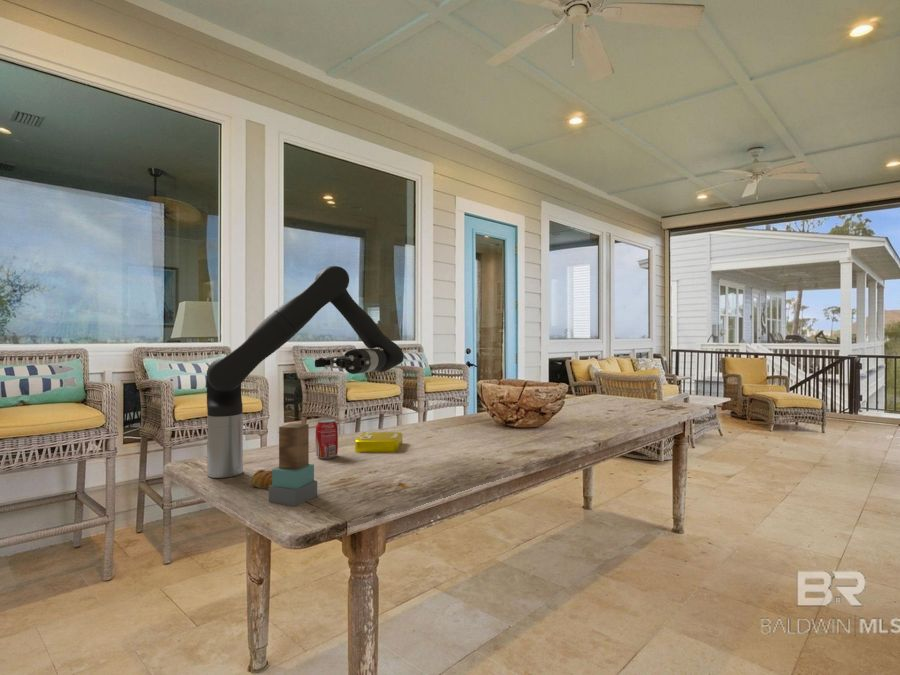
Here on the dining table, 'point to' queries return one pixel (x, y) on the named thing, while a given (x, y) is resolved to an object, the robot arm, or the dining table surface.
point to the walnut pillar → (293, 446)
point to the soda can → (326, 438)
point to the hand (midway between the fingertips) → (328, 363)
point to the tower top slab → (292, 477)
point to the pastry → (262, 479)
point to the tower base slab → (292, 494)
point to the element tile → (378, 442)
